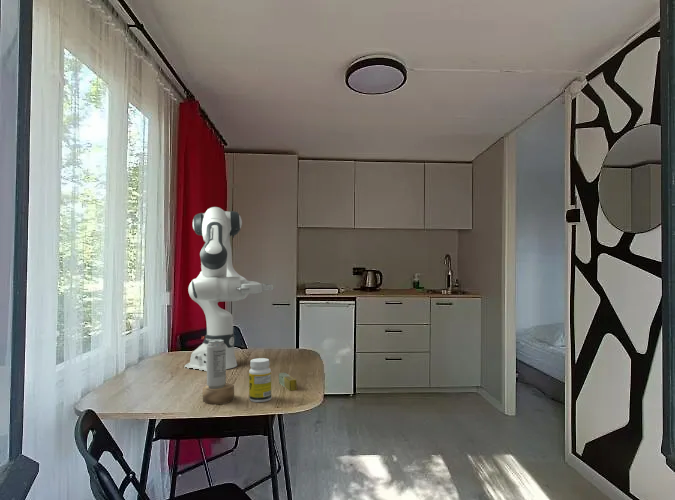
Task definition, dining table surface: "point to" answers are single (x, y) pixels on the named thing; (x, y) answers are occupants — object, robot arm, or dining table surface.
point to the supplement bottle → (260, 380)
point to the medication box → (287, 381)
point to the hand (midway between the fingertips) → (272, 286)
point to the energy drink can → (216, 364)
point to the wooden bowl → (218, 394)
